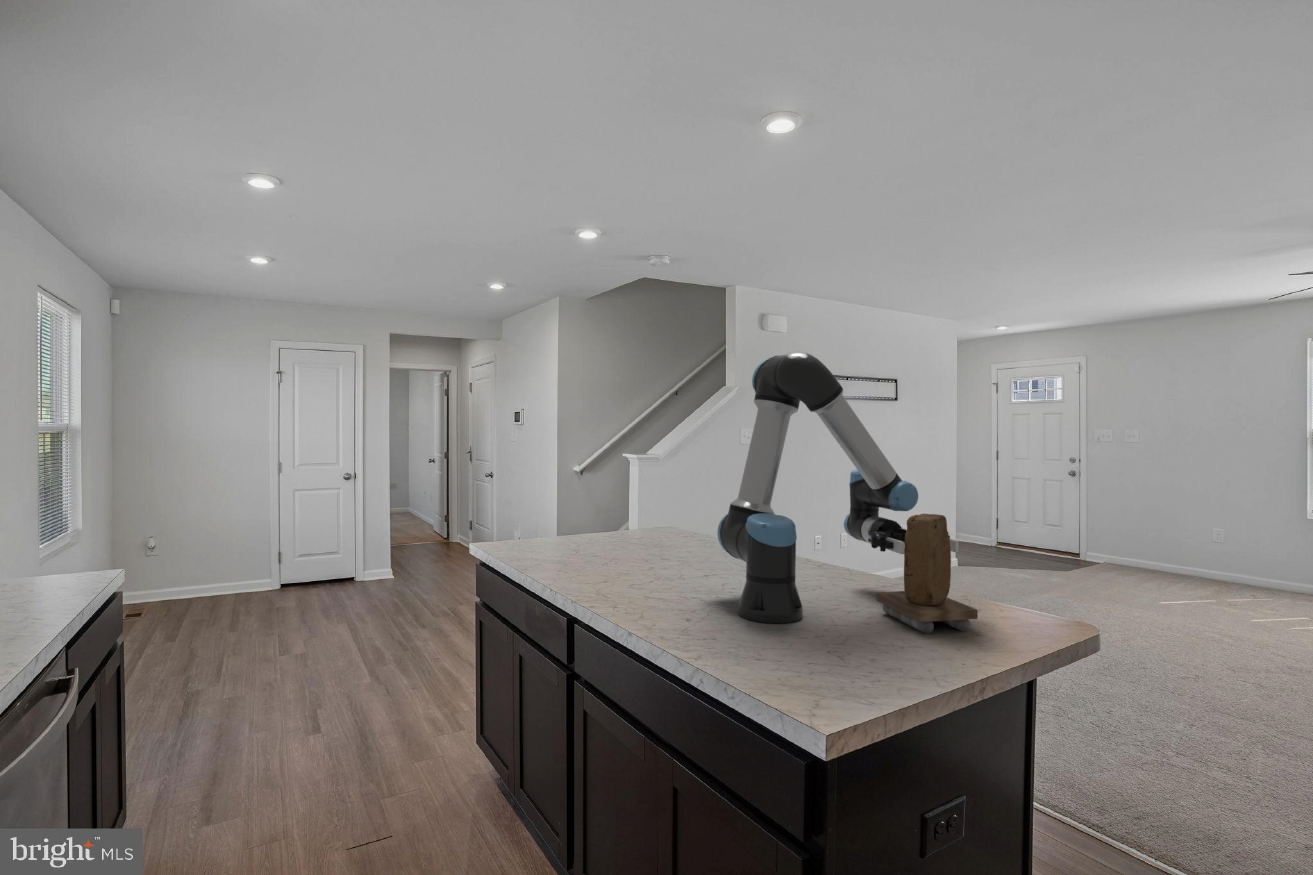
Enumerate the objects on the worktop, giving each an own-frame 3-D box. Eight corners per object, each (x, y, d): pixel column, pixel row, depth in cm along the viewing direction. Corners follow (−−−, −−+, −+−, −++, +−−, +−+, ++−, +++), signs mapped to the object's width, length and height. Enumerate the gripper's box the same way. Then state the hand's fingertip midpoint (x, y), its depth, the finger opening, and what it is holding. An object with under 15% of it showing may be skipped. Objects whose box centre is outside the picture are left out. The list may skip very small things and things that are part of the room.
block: (931, 609, 147) (932, 518, 147) (899, 602, 153) (900, 514, 153) (955, 601, 154) (956, 514, 154) (924, 594, 160) (925, 511, 160)
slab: (919, 635, 145) (919, 612, 144) (876, 612, 162) (876, 592, 162) (977, 632, 147) (977, 609, 147) (928, 610, 165) (929, 590, 165)
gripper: (926, 545, 176) (979, 562, 155) (837, 548, 172) (879, 565, 151) (926, 517, 176) (979, 529, 155) (837, 519, 171) (880, 532, 151)
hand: (930, 547), depth 153 cm, fingers open, 13 cm apart
